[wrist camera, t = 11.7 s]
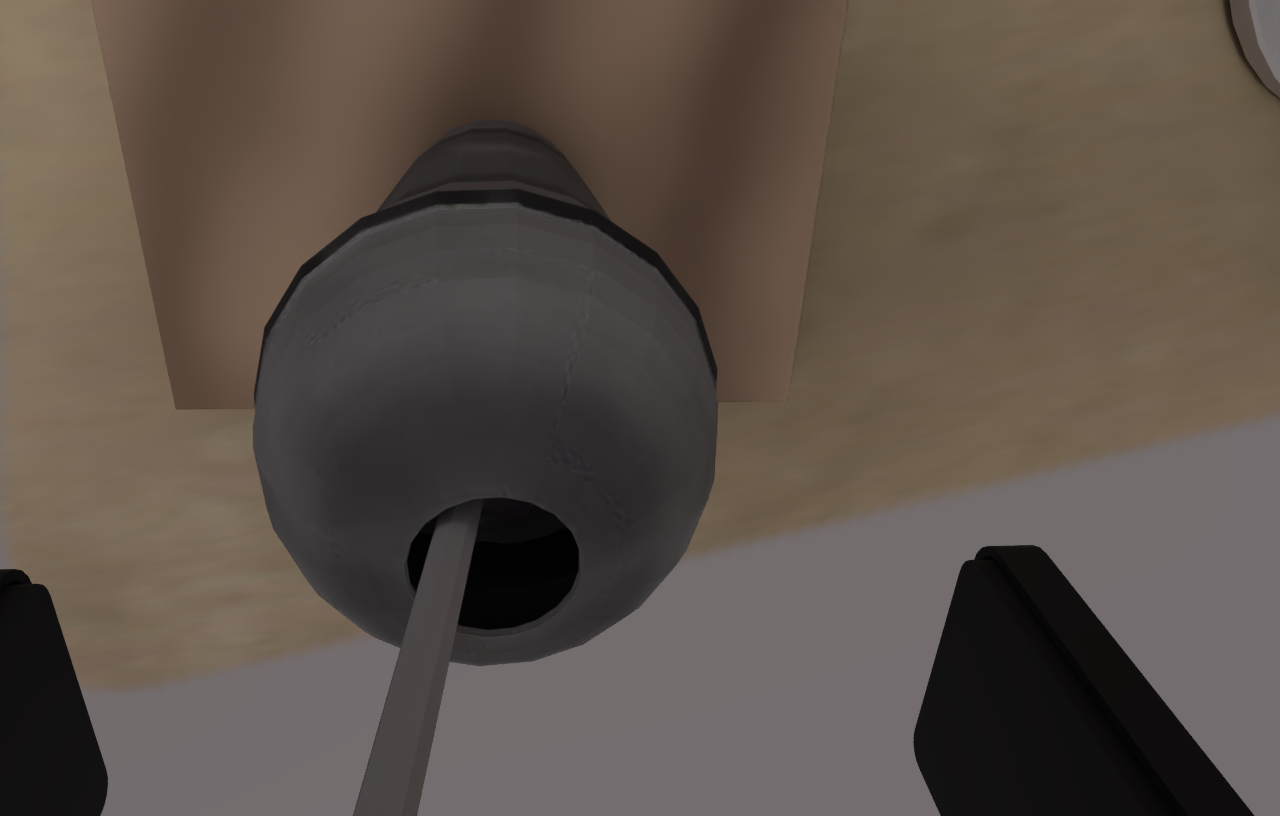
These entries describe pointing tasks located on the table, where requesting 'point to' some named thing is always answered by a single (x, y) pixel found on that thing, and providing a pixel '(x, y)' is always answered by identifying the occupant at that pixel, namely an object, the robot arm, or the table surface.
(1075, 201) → the table surface
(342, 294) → the beverage cup
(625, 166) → the serving board
